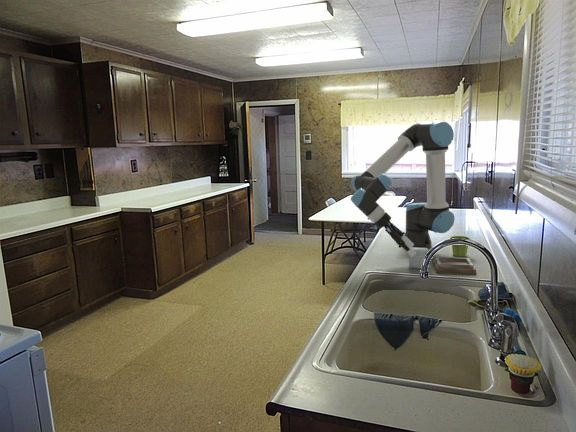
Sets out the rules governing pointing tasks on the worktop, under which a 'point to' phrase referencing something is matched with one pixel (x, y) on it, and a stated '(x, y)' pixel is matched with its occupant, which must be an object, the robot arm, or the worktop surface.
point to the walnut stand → (453, 265)
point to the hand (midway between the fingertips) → (413, 250)
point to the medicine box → (417, 257)
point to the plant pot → (459, 247)
